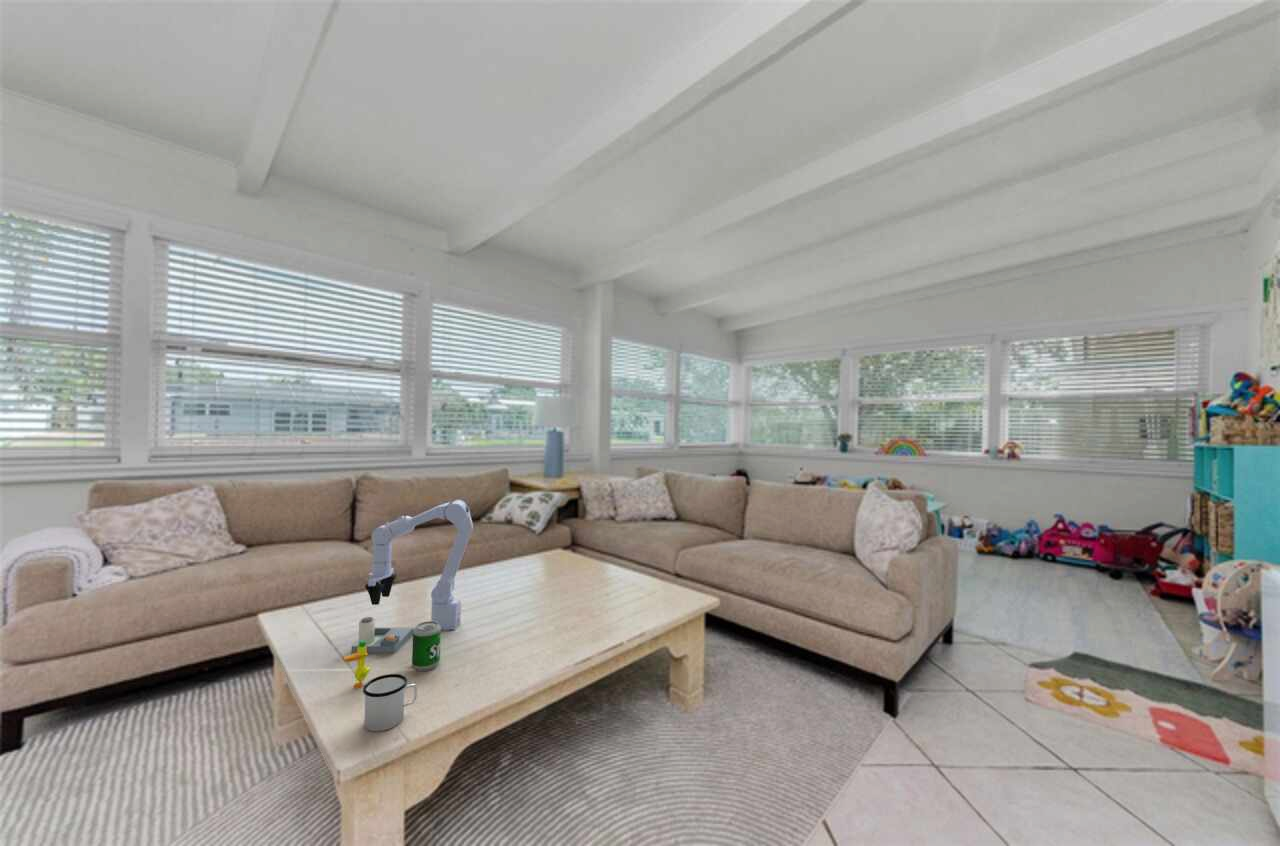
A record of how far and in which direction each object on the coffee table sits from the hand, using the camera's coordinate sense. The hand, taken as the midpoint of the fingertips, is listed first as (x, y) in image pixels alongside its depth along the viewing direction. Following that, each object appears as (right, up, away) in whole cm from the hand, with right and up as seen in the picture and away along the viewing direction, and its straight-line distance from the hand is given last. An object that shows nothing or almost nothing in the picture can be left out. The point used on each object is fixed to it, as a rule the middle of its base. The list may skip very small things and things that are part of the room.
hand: (380, 600), depth 167 cm
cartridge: (+4, -7, -15) cm, 17 cm away
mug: (+29, -11, -50) cm, 59 cm away
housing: (+7, -10, -11) cm, 17 cm away
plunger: (+11, -8, -16) cm, 21 cm away
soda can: (+26, -11, -24) cm, 37 cm away
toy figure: (+13, -10, -36) cm, 40 cm away
